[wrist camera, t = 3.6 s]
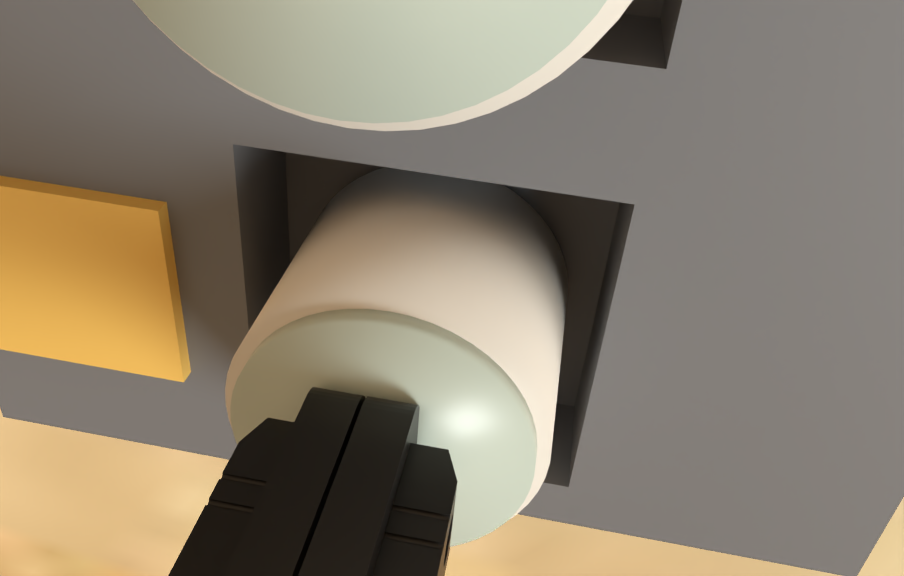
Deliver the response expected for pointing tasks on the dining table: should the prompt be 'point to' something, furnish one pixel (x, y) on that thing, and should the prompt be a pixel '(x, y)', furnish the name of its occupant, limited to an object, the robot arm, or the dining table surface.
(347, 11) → the button
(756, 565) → the dining table surface
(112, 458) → the dining table surface
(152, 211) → the button board
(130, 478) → the dining table surface
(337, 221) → the button
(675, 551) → the dining table surface
